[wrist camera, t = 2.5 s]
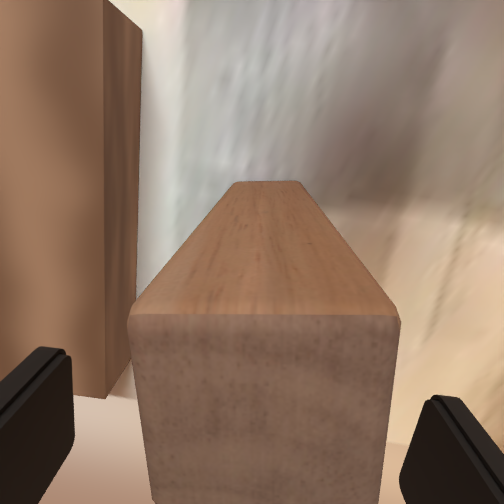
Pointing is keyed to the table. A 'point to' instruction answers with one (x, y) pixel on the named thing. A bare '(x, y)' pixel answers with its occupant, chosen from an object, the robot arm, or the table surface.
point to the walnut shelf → (69, 184)
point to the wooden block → (264, 359)
